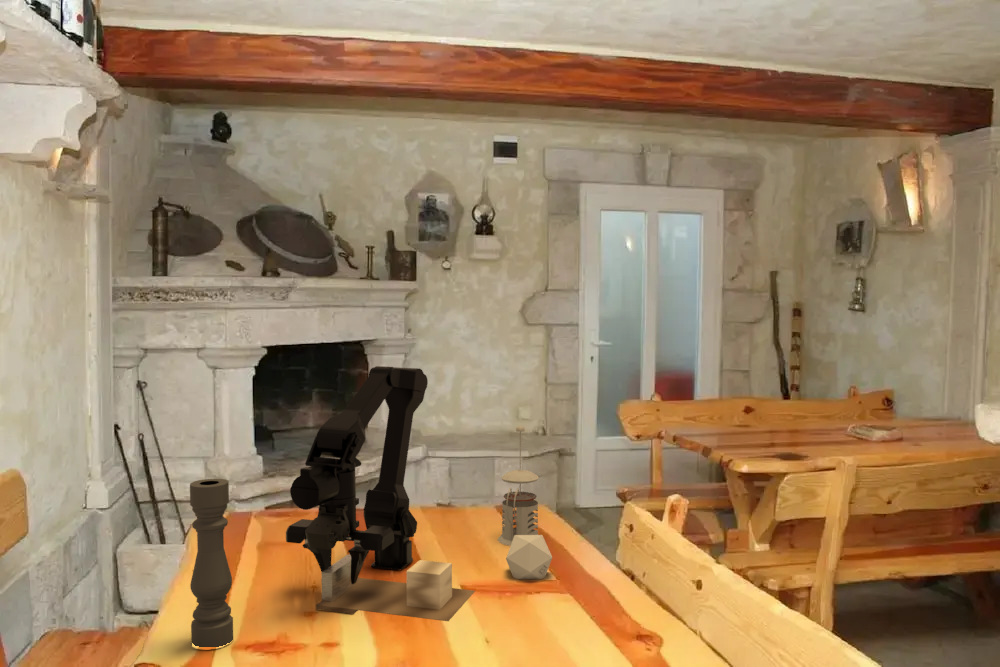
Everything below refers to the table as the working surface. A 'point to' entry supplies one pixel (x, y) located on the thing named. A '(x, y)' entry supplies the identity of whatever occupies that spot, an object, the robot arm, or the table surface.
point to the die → (528, 557)
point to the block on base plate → (377, 595)
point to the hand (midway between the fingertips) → (340, 582)
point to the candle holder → (210, 565)
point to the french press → (518, 505)
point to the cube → (429, 584)
